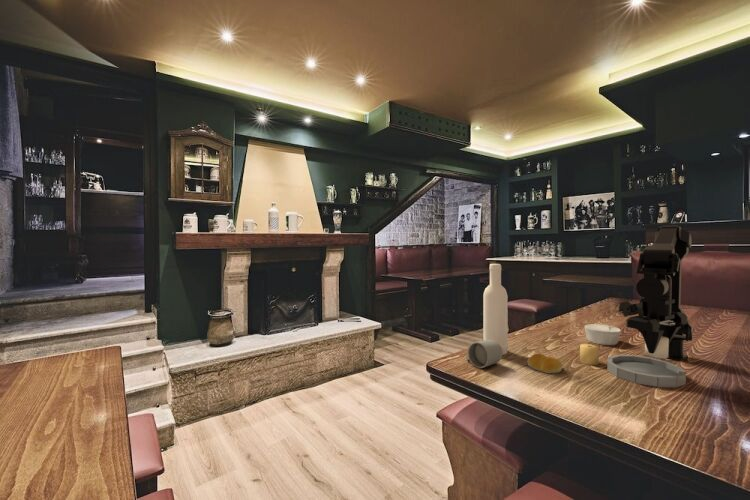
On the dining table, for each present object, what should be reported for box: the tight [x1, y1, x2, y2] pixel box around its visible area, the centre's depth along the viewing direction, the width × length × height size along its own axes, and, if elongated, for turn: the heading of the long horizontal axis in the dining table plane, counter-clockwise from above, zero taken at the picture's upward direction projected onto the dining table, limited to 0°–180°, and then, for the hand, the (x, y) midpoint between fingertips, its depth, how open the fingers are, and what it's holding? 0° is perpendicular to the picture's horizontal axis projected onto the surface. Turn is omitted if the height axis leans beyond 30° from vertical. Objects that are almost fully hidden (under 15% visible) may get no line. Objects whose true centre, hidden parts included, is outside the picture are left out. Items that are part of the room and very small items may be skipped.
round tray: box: [606, 354, 687, 388], centre depth 98 cm, size 17×17×3 cm
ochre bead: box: [579, 343, 600, 366], centre depth 108 cm, size 5×5×5 cm
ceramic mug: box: [465, 340, 503, 369], centre depth 108 cm, size 11×8×8 cm
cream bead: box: [644, 336, 669, 359], centre depth 95 cm, size 5×5×5 cm
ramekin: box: [584, 323, 622, 346], centre depth 129 cm, size 11×11×5 cm
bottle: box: [482, 263, 509, 356], centre depth 118 cm, size 8×8×30 cm
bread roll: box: [527, 353, 563, 374], centre depth 104 cm, size 8×9×4 cm
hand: (656, 351), depth 95 cm, fingers closed on cream bead, 5 cm apart
